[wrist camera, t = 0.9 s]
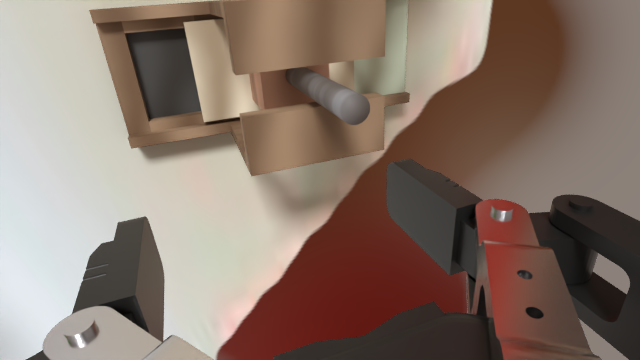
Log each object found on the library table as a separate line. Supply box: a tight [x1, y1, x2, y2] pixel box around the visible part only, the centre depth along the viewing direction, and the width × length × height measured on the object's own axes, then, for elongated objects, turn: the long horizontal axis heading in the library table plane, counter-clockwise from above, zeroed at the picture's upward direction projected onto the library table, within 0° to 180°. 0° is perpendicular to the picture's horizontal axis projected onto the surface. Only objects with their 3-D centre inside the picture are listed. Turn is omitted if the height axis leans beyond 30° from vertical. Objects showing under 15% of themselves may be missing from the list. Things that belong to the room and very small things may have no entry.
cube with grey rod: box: [183, 19, 370, 125], centre depth 30 cm, size 16×9×19 cm, turn 94°
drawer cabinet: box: [90, 0, 410, 176], centre depth 34 cm, size 30×12×14 cm, turn 94°
